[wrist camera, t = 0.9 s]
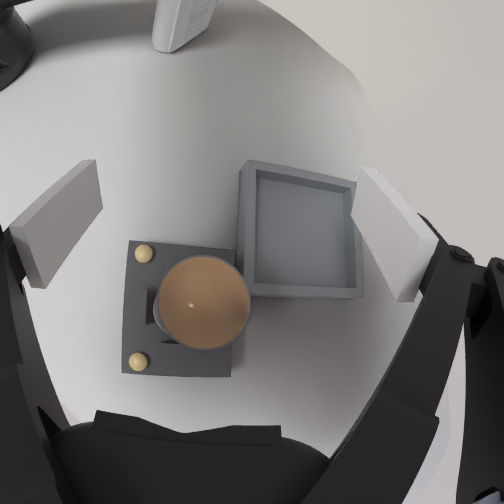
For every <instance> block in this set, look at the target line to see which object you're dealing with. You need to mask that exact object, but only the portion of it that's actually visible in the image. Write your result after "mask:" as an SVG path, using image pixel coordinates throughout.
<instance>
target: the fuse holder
mask: <svg viewBox="0 0 504 504" xmlns="http://www.w3.org/2000/svg"><path fill="white" fill-rule="evenodd" d="M195 255H210V256H215V257H218V258H221V259H223V260H225V261H227V262H228V263H230V264H231V265H233V266H234V250H226V249H215V248H205V247H194V246H184V245H173V244H163V243H152V242H142V241H131V240H129V246H128V256H127V266H126V277H125V291H124V306H123V327H122V373H129V374H142V375H158V376H180V377H231V348H232V342H231V343H229V344H228V345H226V346H224V347H222V348H219V349H216V350H210V351H200V350H194V349H190V348H188V347H185V346H183V345H181V344H179V343H178V342H177V341H175V340H174V339H173V338H171V337H170V336H169V335H168V334H167V333H166V332H164V331H163V330H162V329H161V328H160V327H159V326H158V325H157V323H156V321H155V319H154V315H153V305H154V302H155V299H156V295H157V291H158V287H159V285H160V282H161V280H162V278H163V277H164V275H165V274H166V272H167V271H168V270H169V269H170V268H171V267H172V266H173V265H174V264H176V263H177V262H179V261H181V260H182V259H185V258H187V257H191V256H195Z"/></svg>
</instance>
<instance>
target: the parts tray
mask: <svg viewBox="0 0 504 504" xmlns="http://www.w3.org/2000/svg"><path fill="white" fill-rule="evenodd" d="M356 188H357V182H353V181H349V180H345V179H341V178H337V177H332V176H328V175H323V174H319V173H314V172H310V171H305V170H300V169H295V168H290V167H285V166H280V165H275V164H270V163H264V162H259V161H253V160H248V159H247V161H246V162H245V164H244V166H243V167H242V169H241V170H240V175H239V199H238V224H237V252H236V269H237V270H238V271H239V272H240V274H241V275H242V276H243V278H244V279H245V281H246V283H247V286H248V288H249V292H250V296H257V297H279V298H304V299H337V300H351V299H358V298H364V288H363V259H362V240H361V233H360V231H359V229H358V227H357V225H356V224H355V222H354V220H353V218H352V217H351V212H352V207H353V202H354V198H355V193H356Z"/></svg>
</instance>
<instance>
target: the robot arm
mask: <svg viewBox="0 0 504 504" xmlns="http://www.w3.org/2000/svg"><path fill="white" fill-rule="evenodd" d="M29 1H32V0H0V90H2V89H3V88H4V87H6V86H7V85H8V84H9V83H11V82H12V81H13V80H14V79H15V78H16V77H17V76H18V75H19V74H20V73H21V72H22V71H23V69H24V68H25V67H26V66H27V64H28V63H29V61H30V59H31V57H32V55H33V52H34V48H35V43H34V38H33V34H32V31H31V29H30V27H29V26H28V25H27V24H25V23H24V21H23V20H22V18H21V17H20V16H19V14H18V13H17V11H16V10H15V8H14V6H15V5H18V4H22V3H25V2H29ZM102 209H103V205H102V199H101V193H100V187H99V180H98V173H97V166H96V160H83V161H82V162H80V163H79V164H78V165H77V166H75V167H74V168H73V169H72V170H70V171H69V172H68V173H67V174H65V175H64V176H63V177H62V178H61V179H59V180H58V181H57V182H56V183H55V184H54V185H52V186H51V187H50V188H49V189H48V190H47V191H45V192H44V193H43V194H42V195H41V196H40V197H39V198H38V199H37V200H35V201H34V202H33V203H32V204H31V205H30V206H29V207H28V208H27V209H26V210H25V211H24V212H23V213H22V214H21V215H19V216H18V217H17V218H16V219H15V220H14V221H13V222H12V223H11V224H10V225H9V227H8V228H7V229H6V230H5V231H4V232H3V231H2V228H1V225H0V504H402V502H403V501H404V499H405V497H406V495H407V493H408V491H409V490H410V488H411V486H412V484H413V482H414V480H415V478H416V476H417V474H418V472H419V470H420V468H421V466H422V463H423V461H424V459H425V457H426V455H427V452H428V450H429V448H430V446H431V443H432V441H433V438H434V436H435V434H436V431H437V428H438V425H439V417H437V416H435V413H436V410H437V407H438V404H439V402H440V399H441V396H442V393H443V391H444V388H445V385H446V382H447V379H448V376H449V372H450V369H451V366H452V363H453V360H454V356H455V353H456V349H457V346H458V342H459V338H460V334H461V330H462V326H463V323H464V337H465V359H466V400H465V420H464V435H463V445H462V454H461V462H460V470H459V476H458V484H457V492H456V504H504V260H503V259H500V258H497V257H495V258H491V260H490V261H489V263H488V266H487V268H486V267H483V266H479V265H476V264H475V262H474V258H473V257H472V255H471V254H469V253H468V252H467V251H465V250H464V249H462V248H460V247H457V246H454V245H448V244H447V242H446V241H445V240H444V239H443V237H442V236H441V235H440V234H439V233H438V232H437V230H436V229H435V228H434V227H432V224H431V223H430V222H429V221H428V220H427V219H426V218H424V217H423V216H422V215H420V214H419V213H416V212H415V211H414V209H413V208H412V207H411V206H410V205H409V204H408V203H407V202H406V200H405V199H404V198H403V197H402V196H401V195H400V194H399V193H398V192H397V191H396V190H395V188H394V187H393V186H392V185H391V184H390V183H389V182H388V181H387V180H386V179H385V178H384V177H383V176H382V175H381V174H380V173H379V172H378V171H377V170H376V169H375V168H372V167H364V166H360V172H359V177H358V182H357V188H356V193H355V198H354V202H353V207H352V212H351V217H352V218H353V220H354V222H355V224H356V225H357V227H358V229H359V231H360V233H361V234H362V236H363V238H364V240H365V242H366V244H367V246H368V247H369V249H370V251H371V253H372V255H373V257H374V259H375V261H376V263H377V265H378V266H379V268H380V270H381V272H382V274H383V276H384V278H385V280H386V282H387V284H388V286H389V288H390V290H391V292H392V295H393V297H394V299H395V301H396V302H413V301H414V299H415V297H416V294H417V292H418V290H419V289H420V291H421V293H422V295H423V298H422V300H421V302H420V304H419V306H418V308H417V310H416V312H415V315H414V317H413V319H412V322H411V324H410V326H409V328H408V330H407V332H406V334H405V336H404V338H403V340H402V342H401V344H400V346H399V348H398V350H397V352H396V354H395V356H394V357H393V359H392V361H391V363H390V365H389V367H388V369H387V370H386V372H385V374H384V376H383V377H382V379H381V381H380V383H379V384H378V386H377V388H376V390H375V391H374V393H373V395H372V396H371V398H370V400H369V401H368V403H367V404H366V406H365V408H364V409H363V411H362V412H361V414H360V416H359V417H358V419H357V420H356V422H355V423H354V425H353V426H352V428H351V429H350V431H349V432H348V434H347V435H346V437H345V438H344V440H343V441H342V442H341V444H340V445H339V447H338V448H337V449H336V451H335V452H334V453H333V455H332V456H331V457H330V459H329V458H328V457H327V456H325V455H324V454H322V453H321V452H320V451H318V450H316V449H314V448H313V447H311V446H309V445H306V444H304V443H302V442H299V441H296V440H293V439H289V438H285V437H281V425H274V426H242V425H232V426H227V427H222V428H216V429H210V430H204V431H198V432H191V433H180V432H177V431H174V430H171V429H168V428H165V427H162V426H160V425H157V424H154V423H152V422H149V421H146V420H144V419H141V418H139V417H134V416H128V415H122V414H116V413H110V412H105V411H100V410H97V411H96V414H95V418H94V422H86V423H81V424H77V425H74V426H70V424H69V422H68V421H67V419H66V416H65V414H64V412H63V409H62V407H61V405H60V402H59V400H58V397H57V395H56V392H55V389H54V387H53V384H52V381H51V379H50V376H49V373H48V370H47V367H46V365H45V362H44V359H43V355H42V352H41V349H40V346H39V343H38V339H37V336H36V332H35V329H34V325H33V321H32V317H31V314H30V310H29V305H28V301H27V297H26V292H25V288H24V286H23V284H22V280H23V279H24V277H25V276H27V279H28V281H29V283H30V286H31V287H32V288H41V289H46V287H47V286H48V284H49V283H50V281H51V280H52V278H53V277H54V275H55V274H56V272H57V271H58V269H59V268H60V266H61V265H62V263H63V262H64V260H65V259H66V257H67V256H68V254H69V253H70V252H71V250H72V249H73V247H74V246H75V245H76V243H77V242H78V240H79V239H80V238H81V236H82V235H83V234H84V232H85V231H86V230H87V228H88V227H89V226H90V224H91V223H92V222H93V220H94V219H95V218H96V216H97V215H98V214H99V213H100V211H101V210H102Z"/></svg>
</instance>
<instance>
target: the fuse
mask: <svg viewBox="0 0 504 504" xmlns="http://www.w3.org/2000/svg"><path fill="white" fill-rule="evenodd" d="M250 311H251V297H250V292H249V288H248V286H247V283H246V281H245V279H244V278H243V276H242V275H241V274H240V272H239V271H238V270H237V269H236V268H235V267H234V266H233V265H231V264H230V263H228V262H227V261H225V260H223V259H221V258H218V257H215V256H210V255H195V256H191V257H187V258H185V259H182V260H181V261H179V262H177V263H176V264H174V265H173V266H172V267H171V268H170V269H169V270H168V271H167V272H166V274H165V275H164V277H163V278H162V280H161V282H160V285H159V287H158V291H157V295H156V299H155V302H154V305H153V315H154V319H155V321H156V323H157V325H158V326H159V327H160V328H161V329H162V330H163V331H164V332H166V333H167V334H168V335H169V336H170V337H171V338H173V339H174V340H175V341H177V342H178V343H179V344H181V345H183V346H185V347H188V348H190V349H194V350H200V351H210V350H216V349H219V348H222V347H224V346H226V345H228V344H229V343H231V342H232V341H234V340H235V339H236V338H237V337H238V336H239V335H240V334H241V332H242V331H243V330H244V328H245V326H246V324H247V322H248V319H249V316H250Z"/></svg>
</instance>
